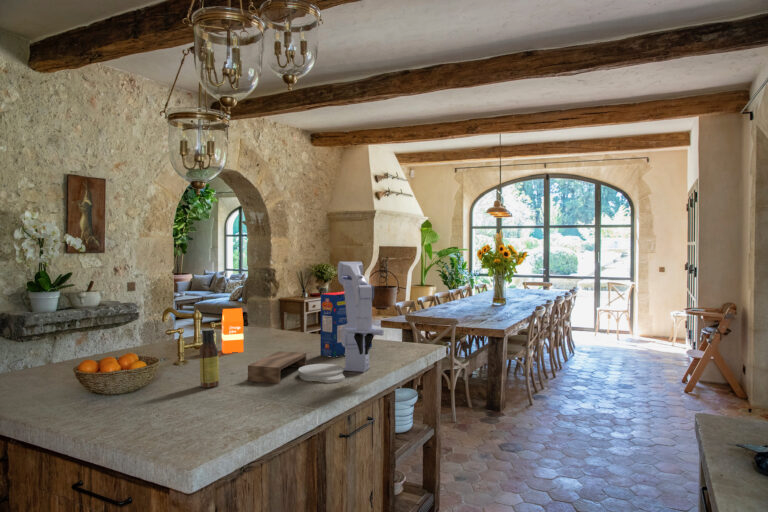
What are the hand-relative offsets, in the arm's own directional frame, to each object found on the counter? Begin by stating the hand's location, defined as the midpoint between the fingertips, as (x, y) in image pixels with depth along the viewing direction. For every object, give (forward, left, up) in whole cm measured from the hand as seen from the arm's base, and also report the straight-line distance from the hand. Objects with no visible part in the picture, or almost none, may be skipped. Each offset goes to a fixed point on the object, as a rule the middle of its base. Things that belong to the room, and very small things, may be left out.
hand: (363, 354), depth 185 cm
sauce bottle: (+50, +22, -10) cm, 55 cm away
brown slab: (+34, 0, -9) cm, 35 cm away
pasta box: (+21, -46, -10) cm, 51 cm away
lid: (+16, 0, -10) cm, 19 cm away
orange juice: (+73, -33, -10) cm, 81 cm away
